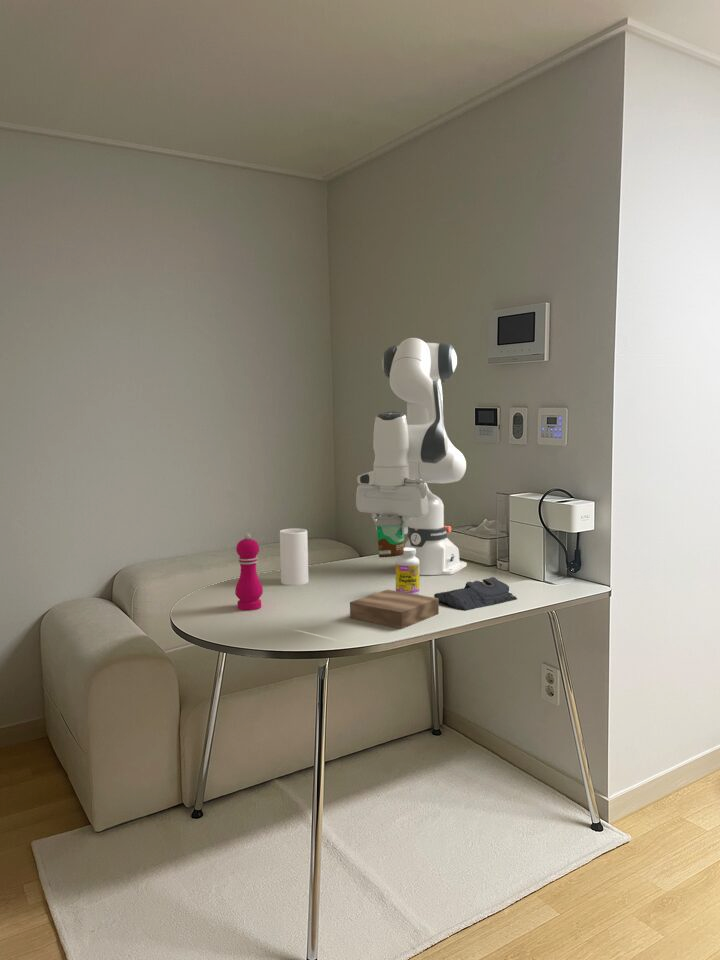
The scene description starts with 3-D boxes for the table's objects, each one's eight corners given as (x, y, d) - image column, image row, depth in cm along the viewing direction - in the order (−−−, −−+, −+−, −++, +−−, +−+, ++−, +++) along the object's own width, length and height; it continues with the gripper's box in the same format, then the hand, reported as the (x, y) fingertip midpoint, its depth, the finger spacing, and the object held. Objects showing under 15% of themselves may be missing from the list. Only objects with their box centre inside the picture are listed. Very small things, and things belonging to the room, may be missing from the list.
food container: (402, 558, 186) (400, 516, 186) (377, 558, 188) (375, 517, 188) (413, 551, 198) (411, 512, 198) (389, 551, 200) (388, 512, 200)
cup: (309, 580, 236) (308, 528, 234) (307, 586, 228) (306, 532, 226) (282, 580, 236) (281, 528, 234) (279, 586, 228) (278, 533, 226)
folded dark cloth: (425, 601, 210) (425, 584, 210) (483, 589, 223) (483, 573, 223) (464, 613, 198) (464, 595, 197) (523, 600, 211) (523, 583, 210)
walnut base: (388, 604, 206) (387, 589, 206) (438, 613, 196) (438, 598, 196) (350, 617, 194) (349, 602, 194) (402, 628, 184) (401, 612, 184)
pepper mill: (232, 610, 202) (229, 535, 200) (240, 603, 209) (238, 530, 207) (259, 611, 201) (256, 535, 199) (266, 604, 208) (264, 531, 206)
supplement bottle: (395, 596, 214) (395, 551, 213) (396, 591, 220) (395, 546, 219) (419, 597, 213) (419, 551, 212) (419, 591, 220) (419, 546, 219)
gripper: (433, 478, 188) (433, 534, 189) (367, 474, 201) (368, 527, 202) (418, 480, 183) (419, 538, 184) (352, 476, 196) (352, 530, 197)
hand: (391, 532), depth 193 cm, fingers closed on food container, 6 cm apart
